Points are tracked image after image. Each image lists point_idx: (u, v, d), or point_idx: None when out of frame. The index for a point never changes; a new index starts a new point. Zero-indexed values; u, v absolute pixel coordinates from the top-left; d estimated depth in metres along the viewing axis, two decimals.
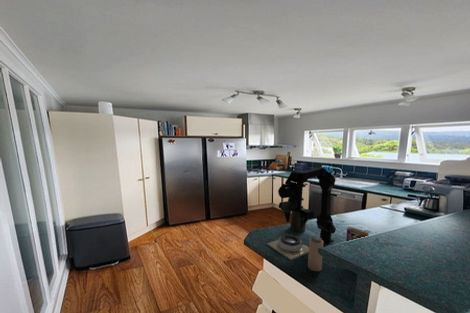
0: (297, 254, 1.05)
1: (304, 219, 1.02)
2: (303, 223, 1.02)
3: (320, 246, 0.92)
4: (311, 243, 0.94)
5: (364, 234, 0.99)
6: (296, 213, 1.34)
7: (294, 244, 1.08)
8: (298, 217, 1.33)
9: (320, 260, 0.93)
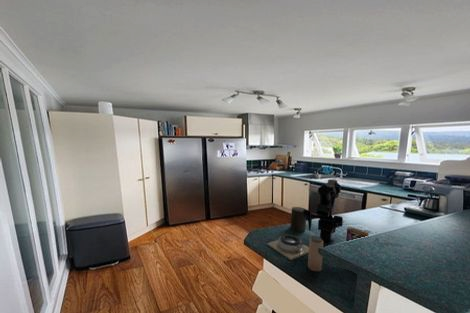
0: (297, 254, 1.05)
1: None
2: (332, 229, 1.01)
3: (320, 246, 0.92)
4: (311, 243, 0.94)
5: (364, 234, 0.99)
6: (296, 213, 1.34)
7: (294, 244, 1.08)
8: (298, 217, 1.33)
9: (320, 260, 0.93)
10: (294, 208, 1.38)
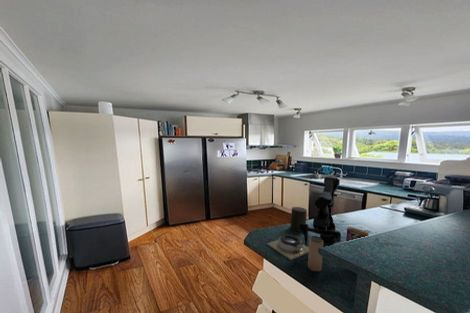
0: (297, 254, 1.05)
1: None
2: None
3: (320, 246, 0.92)
4: (311, 243, 0.94)
5: (364, 234, 0.99)
6: (296, 213, 1.34)
7: (294, 244, 1.08)
8: (298, 217, 1.33)
9: (320, 260, 0.93)
10: (294, 208, 1.38)
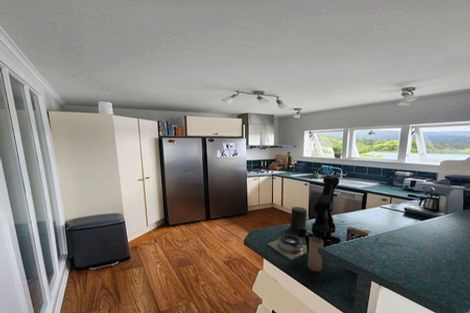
0: (297, 254, 1.05)
1: None
2: None
3: (320, 246, 0.92)
4: (311, 243, 0.94)
5: (364, 234, 0.99)
6: (296, 213, 1.34)
7: (294, 244, 1.08)
8: (298, 217, 1.33)
9: (320, 260, 0.93)
10: (294, 208, 1.38)
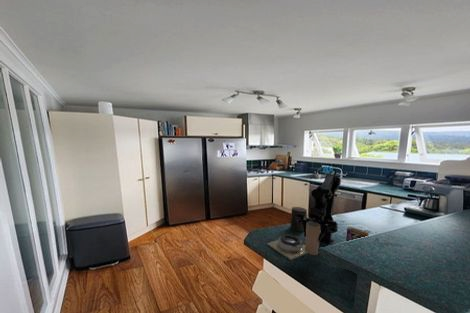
0: (297, 254, 1.05)
1: None
2: (322, 234, 0.95)
3: (317, 230, 0.93)
4: (308, 227, 0.95)
5: (364, 234, 0.99)
6: (296, 213, 1.34)
7: (294, 244, 1.08)
8: None
9: (317, 243, 0.94)
10: (294, 208, 1.38)
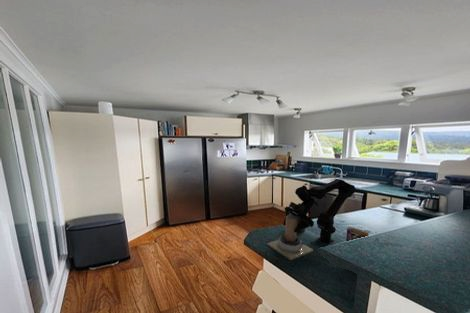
0: (297, 254, 1.05)
1: (302, 225, 1.07)
2: (299, 227, 1.07)
3: (291, 222, 1.09)
4: None
5: (364, 234, 0.99)
6: None
7: (294, 244, 1.08)
8: None
9: (291, 234, 1.09)
10: None
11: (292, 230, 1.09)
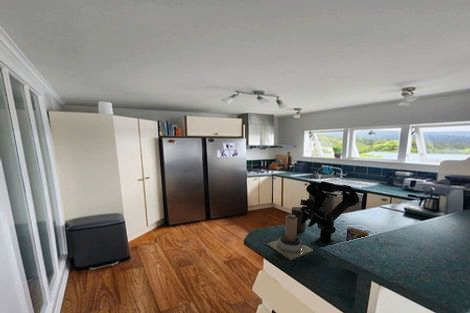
0: (297, 254, 1.05)
1: (315, 219, 1.10)
2: (312, 221, 1.10)
3: (291, 222, 1.09)
4: None
5: (364, 234, 0.99)
6: (296, 213, 1.34)
7: (294, 244, 1.08)
8: (298, 217, 1.33)
9: (291, 234, 1.09)
10: (294, 208, 1.38)
11: (292, 230, 1.09)
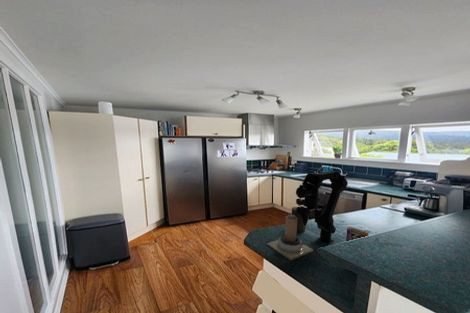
0: (297, 254, 1.05)
1: (304, 216, 1.11)
2: (303, 219, 1.11)
3: (291, 222, 1.09)
4: None
5: (364, 234, 0.99)
6: (296, 213, 1.34)
7: (294, 244, 1.08)
8: (298, 217, 1.33)
9: (291, 234, 1.09)
10: (294, 208, 1.38)
11: (292, 230, 1.09)
